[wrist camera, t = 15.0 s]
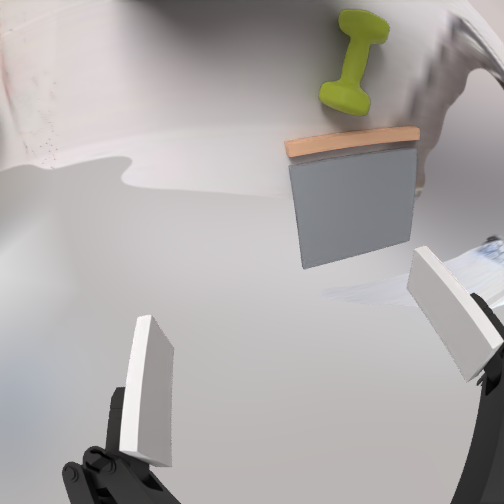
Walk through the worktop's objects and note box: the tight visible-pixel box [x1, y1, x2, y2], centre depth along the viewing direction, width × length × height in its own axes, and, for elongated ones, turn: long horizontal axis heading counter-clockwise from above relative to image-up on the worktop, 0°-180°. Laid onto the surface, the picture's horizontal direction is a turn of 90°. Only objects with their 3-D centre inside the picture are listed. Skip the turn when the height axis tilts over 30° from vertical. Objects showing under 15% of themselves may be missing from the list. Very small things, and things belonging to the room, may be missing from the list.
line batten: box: [285, 126, 420, 157], centre depth 39 cm, size 2×24×2 cm, turn 101°
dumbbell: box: [318, 9, 390, 116], centre depth 30 cm, size 16×8×7 cm, turn 167°
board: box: [289, 147, 417, 269], centre depth 47 cm, size 20×24×1 cm
